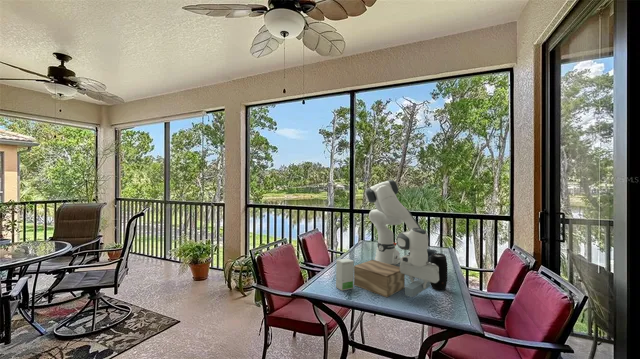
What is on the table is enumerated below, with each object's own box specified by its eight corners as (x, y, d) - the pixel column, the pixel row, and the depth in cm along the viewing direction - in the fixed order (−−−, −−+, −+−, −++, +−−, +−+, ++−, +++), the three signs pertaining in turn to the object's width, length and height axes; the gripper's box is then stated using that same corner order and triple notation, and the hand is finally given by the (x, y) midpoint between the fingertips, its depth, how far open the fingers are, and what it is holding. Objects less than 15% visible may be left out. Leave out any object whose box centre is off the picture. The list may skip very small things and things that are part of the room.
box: (372, 277, 168) (372, 261, 168) (404, 288, 152) (404, 270, 152) (353, 284, 156) (354, 267, 156) (386, 297, 140) (386, 278, 140)
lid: (372, 261, 168) (372, 259, 168) (404, 270, 152) (404, 268, 152) (354, 267, 156) (354, 265, 156) (386, 277, 140) (386, 276, 140)
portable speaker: (448, 292, 147) (448, 257, 147) (430, 290, 150) (430, 256, 150) (445, 286, 155) (446, 253, 155) (428, 284, 158) (429, 252, 158)
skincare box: (341, 291, 147) (341, 262, 147) (335, 286, 153) (335, 259, 153) (354, 288, 151) (354, 260, 151) (347, 284, 157) (347, 257, 157)
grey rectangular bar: (423, 283, 149) (423, 276, 149) (430, 286, 146) (430, 278, 146) (404, 294, 135) (404, 286, 135) (412, 297, 132) (412, 289, 132)
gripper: (441, 263, 135) (441, 290, 135) (404, 254, 150) (404, 279, 150) (436, 266, 131) (435, 294, 131) (398, 256, 146) (398, 282, 146)
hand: (418, 286), depth 141 cm, fingers closed on grey rectangular bar, 4 cm apart
